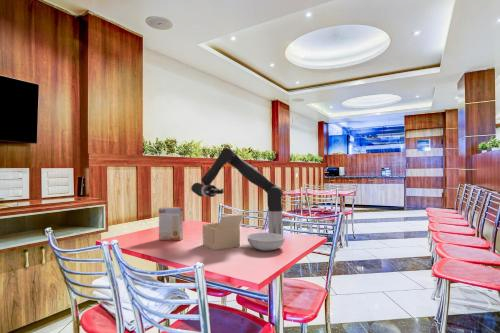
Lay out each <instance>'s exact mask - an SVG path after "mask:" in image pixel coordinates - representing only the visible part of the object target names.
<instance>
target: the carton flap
mask: <svg viewBox="0 0 500 333" xmlns="http://www.w3.org/2000/svg"><path fill="white" fill-rule="evenodd" d="M244 217H245V213H239V214H231V215H222V216H221V218H220V220H219V221H218V222H219V224H218V226H217V229H222V228H229V227H236V226H239V225H241V223H242V221H243V219H244Z"/></svg>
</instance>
